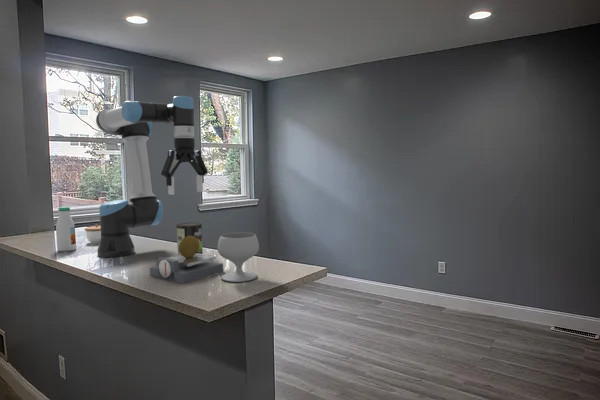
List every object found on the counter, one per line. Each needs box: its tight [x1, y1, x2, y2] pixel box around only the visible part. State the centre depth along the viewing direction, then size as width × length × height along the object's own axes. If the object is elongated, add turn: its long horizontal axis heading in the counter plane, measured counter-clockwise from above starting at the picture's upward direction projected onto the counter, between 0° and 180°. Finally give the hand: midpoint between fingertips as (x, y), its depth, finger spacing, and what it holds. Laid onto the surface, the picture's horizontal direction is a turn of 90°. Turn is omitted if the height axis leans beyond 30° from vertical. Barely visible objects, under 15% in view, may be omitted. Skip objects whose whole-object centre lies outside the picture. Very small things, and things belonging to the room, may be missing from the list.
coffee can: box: [175, 222, 204, 256], centre depth 180 cm, size 10×10×14 cm
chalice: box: [217, 231, 260, 283], centre depth 147 cm, size 14×14×15 cm
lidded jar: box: [84, 223, 101, 244], centre depth 218 cm, size 11×11×9 cm
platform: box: [168, 253, 217, 267], centre depth 155 cm, size 13×13×1 cm
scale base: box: [149, 256, 224, 284], centre depth 154 cm, size 18×19×7 cm
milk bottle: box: [55, 206, 77, 252], centre depth 199 cm, size 8×8×20 cm
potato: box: [179, 236, 200, 258], centre depth 155 cm, size 7×8×8 cm
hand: (186, 193), depth 167 cm, fingers open, 13 cm apart
